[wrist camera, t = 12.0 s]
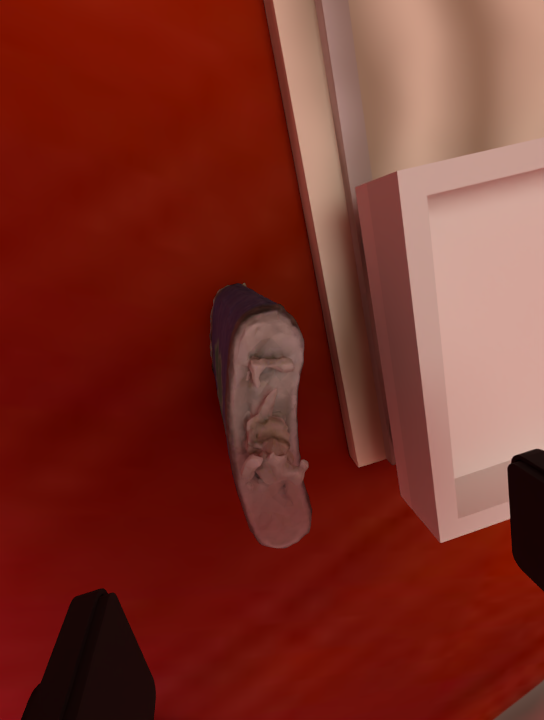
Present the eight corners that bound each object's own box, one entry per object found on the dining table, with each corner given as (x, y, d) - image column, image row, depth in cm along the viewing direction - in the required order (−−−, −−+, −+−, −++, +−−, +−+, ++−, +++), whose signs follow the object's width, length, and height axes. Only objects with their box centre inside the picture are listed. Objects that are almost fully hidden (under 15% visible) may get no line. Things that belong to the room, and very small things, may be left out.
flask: (272, 438, 25) (331, 585, 14) (222, 446, 24) (243, 605, 14) (258, 279, 22) (319, 307, 11) (201, 284, 22) (208, 319, 11)
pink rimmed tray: (381, 472, 24) (440, 543, 18) (335, 194, 19) (397, 170, 13) (607, 399, 26) (726, 442, 20) (618, 128, 21) (780, 83, 15)
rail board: (349, 455, 26) (363, 474, 24) (214, -260, 16) (217, -340, 14) (583, 382, 28) (616, 393, 26) (597, -294, 18) (652, -368, 16)
